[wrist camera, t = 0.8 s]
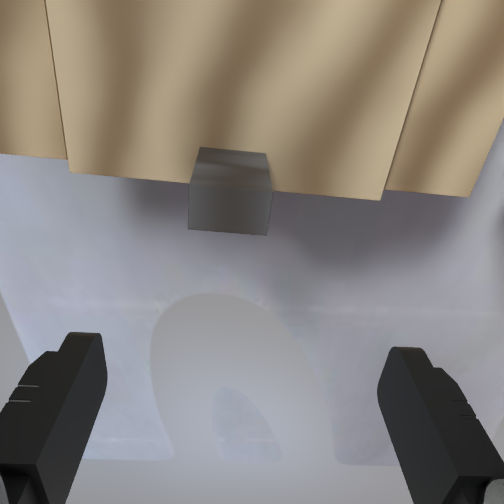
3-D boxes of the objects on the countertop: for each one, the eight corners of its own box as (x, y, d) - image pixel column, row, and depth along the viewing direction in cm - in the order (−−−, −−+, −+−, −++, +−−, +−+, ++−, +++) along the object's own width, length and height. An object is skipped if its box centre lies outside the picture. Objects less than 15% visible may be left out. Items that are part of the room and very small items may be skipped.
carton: (47, 114, 34) (-32, 158, 24) (0, -176, 25) (-159, -301, 15) (404, 151, 37) (466, 203, 27) (484, -99, 28) (624, -161, 18)
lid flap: (73, 168, 25) (24, 215, 19) (13, -273, 15) (-117, -436, 10) (377, 196, 26) (414, 247, 21) (492, -187, 17) (618, -285, 11)
